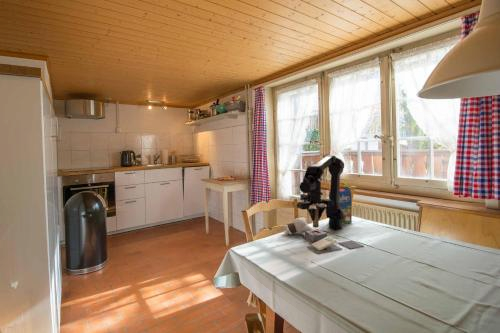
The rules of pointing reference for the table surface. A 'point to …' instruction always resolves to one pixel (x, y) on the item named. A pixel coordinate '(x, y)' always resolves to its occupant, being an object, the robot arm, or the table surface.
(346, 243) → the pad
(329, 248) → the rocker housing
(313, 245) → the rocker
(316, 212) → the stylus
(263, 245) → the table surface
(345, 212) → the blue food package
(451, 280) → the table surface
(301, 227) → the toy
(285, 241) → the table surface
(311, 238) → the grey square block
